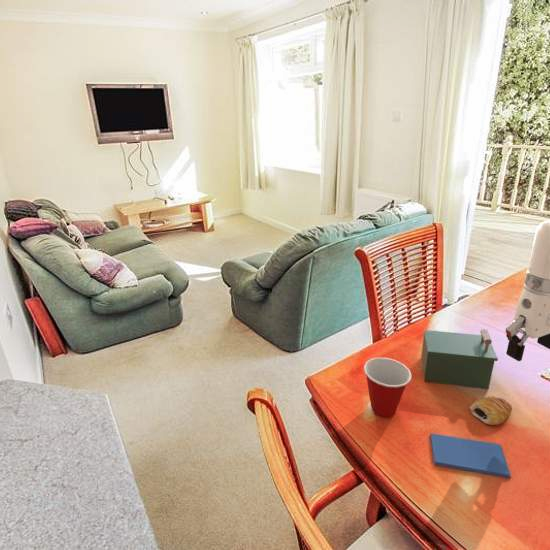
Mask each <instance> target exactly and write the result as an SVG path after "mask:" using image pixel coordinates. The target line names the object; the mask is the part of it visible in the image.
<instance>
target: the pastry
mask: <svg viewBox="0 0 550 550" xmlns="http://www.w3.org/2000/svg"><path fill="white" fill-rule="evenodd" d="M468 409H469V411H470V413H471V414H472V415H473V416H474V417H475V418H477V419H479V420H481V421H482V422H483V423H484V424H486V425H490V426H499V425H500V424H502V423H503V422H504V421H506V420H507V418H509V416H510V415H511V413H512V411H513V407H512V405H511V404H510V402H508V401H507V400H506V399H505V398H502V397H496V396H492V397H491V396H487V397H482V398H481V399H479V398H477V399H476V400H474V402H473V403H472V404H471V405H469V408H468Z"/></svg>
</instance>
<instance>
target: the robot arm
mask: <svg viewBox="0 0 550 550" xmlns="http://www.w3.org/2000/svg"><path fill="white" fill-rule="evenodd" d="M523 286H524V287H523V289H522V292H521V294H520V296H519V299H518V302H517V306H516V308H515V312H514V316H513V320H512V322H511V323H510V324H508V325H507V326H506V327H505V337H506V338H507V340H508V344H507V348H506V352H505V353H506V355H507V356H508V357H510V358H512V359H514V360H515V361H517V362H521V361H522V360H523V357H524V353H525V349H526V345H525V343H526V341H527V340H528V339H529V338H530V339H537V340H536V342H537V344H538V345H540V346H543V347H545V348H546V349H548V350H550V220H545V221H542V222H541V223H539V224H538V225H537V228H536V230H535V235H534V238H533V242H532V247H531V252H530V256H529V260H528V265H527V269H526V273H525V278H524V283H523ZM523 329H524V330H523ZM519 333H520V334H522V336H521V337H519V336H518V334H519Z"/></svg>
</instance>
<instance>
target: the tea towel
mask: <svg viewBox="0 0 550 550" xmlns="http://www.w3.org/2000/svg"><path fill="white" fill-rule="evenodd" d="M430 441H431V442H430V443H431V450H432V458H433V459H432V460H433V465H434V466H439V467H446V468H450V469H457V470H462V471H467V472H472V473H473V472H474V473H480V474H484V475H489V476H496V477H501V478H507V479H511V478H512V475H511V472H510V469H509V466H508V463H507V460H506V457H505V454H504V451H503V448H502V445H501V443H495V442H488V441H482V440H481V441H480V440H476V439H470V438H463V437H456V436H452V435H451V436H450V435H443V434H437V433H430Z"/></svg>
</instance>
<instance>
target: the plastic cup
mask: <svg viewBox="0 0 550 550" xmlns="http://www.w3.org/2000/svg"><path fill="white" fill-rule="evenodd" d="M363 370H364V374H365V376H366V382H367V390H368V397H369V400H370V407H371V411H372V412H373V414H375V415H376V416H378V417H379V418H383V419H384V418H386V419H388V418H392V417H394V416H395V414H396V413H397V410H398V407H399V405H400V402H401V399H402V396H403V393H404V390H405V389H406V387H407V385H408V384H409V383H410V382H411V380H412V372H411V371H410V369H409V368H408V367H407V366H406V365H405V364H404V363H402V362H400V361H398V360H397V359H393V358H388V357H373V358H370V359H369V360H367V361H366V362H365V363H364V366H363Z"/></svg>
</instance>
